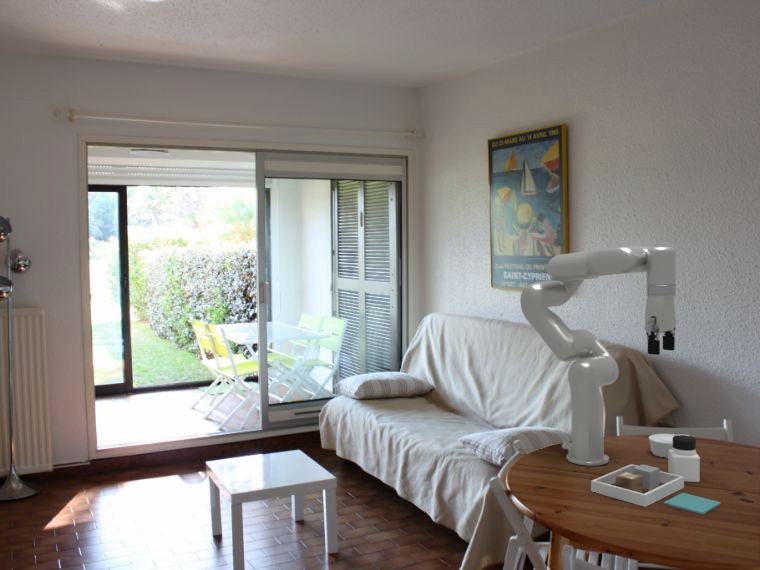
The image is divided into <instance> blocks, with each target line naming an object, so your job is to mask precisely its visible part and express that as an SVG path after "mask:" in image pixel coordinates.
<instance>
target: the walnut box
mask: <svg viewBox="0 0 760 570" xmlns="http://www.w3.org/2000/svg"><path fill="white" fill-rule="evenodd" d="M615 486H617V487H621V488H624V489H628V490H632V491H635V492H639V493H643V494H644V491H643V490H644V488H643V476H642V475H638V474H634V473H630V472H626V471H625V472H623V473H621V474H618V475H616V483H615Z"/></svg>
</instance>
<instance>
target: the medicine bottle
mask: <svg viewBox="0 0 760 570" xmlns="http://www.w3.org/2000/svg"><path fill="white" fill-rule="evenodd" d="M675 435H676V436H674V437H673V450H672V449H669V451H668V458H667V460H668V463H667V464H668V465H667V467H668V468H667V469H668V470H667V473H670V474H675V475H679V476H683V477H684V483H685V482H686V483H687V482H688V483H700V482H701V457H700V455H699V454H698V453H697V450H696V449H697V447H696V445H697V444H696V443H697V440H696V438H695V437H693V436H692V435H688V434H675Z"/></svg>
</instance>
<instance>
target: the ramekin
mask: <svg viewBox="0 0 760 570" xmlns="http://www.w3.org/2000/svg"><path fill="white" fill-rule="evenodd" d="M676 435H677V434H674V433H655V434H652V435H649V436H648V441H649V445H650V450H651V451H650V452H651V453H652V454H653V456H655V457H658V456H659V458H662V457H665V458H664V459H668V451H669V449H672V450H673V437H674V436H676Z"/></svg>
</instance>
